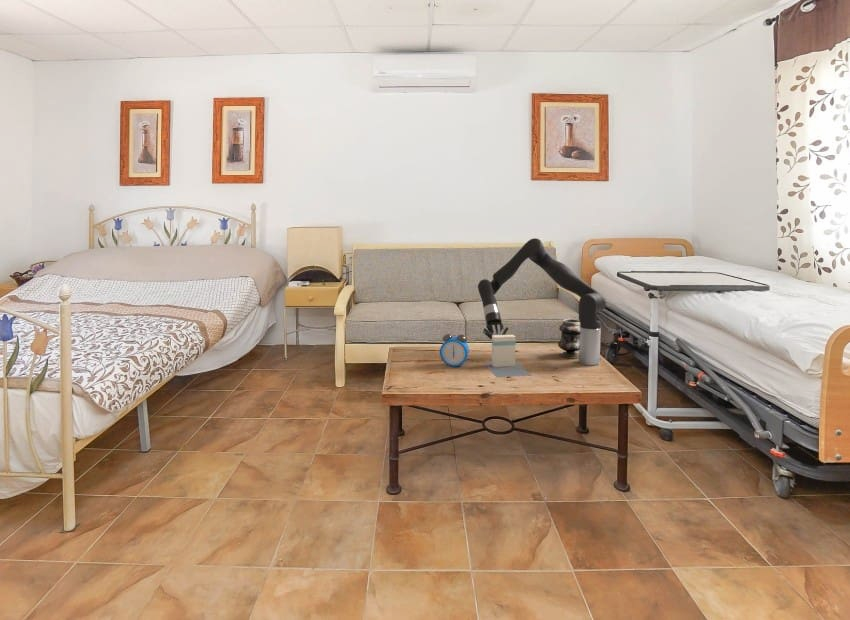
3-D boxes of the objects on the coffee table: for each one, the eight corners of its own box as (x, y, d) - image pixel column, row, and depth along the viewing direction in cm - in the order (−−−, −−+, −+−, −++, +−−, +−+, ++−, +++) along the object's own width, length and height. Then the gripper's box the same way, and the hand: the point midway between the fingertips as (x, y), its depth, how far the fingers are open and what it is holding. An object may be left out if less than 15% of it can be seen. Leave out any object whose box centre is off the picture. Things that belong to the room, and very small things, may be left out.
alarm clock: (439, 366, 246) (439, 335, 243) (442, 362, 252) (441, 332, 249) (467, 368, 243) (467, 336, 240) (469, 364, 249) (469, 333, 246)
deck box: (491, 364, 247) (491, 335, 244) (512, 363, 248) (513, 334, 246) (493, 367, 243) (494, 337, 240) (515, 365, 244) (515, 336, 242)
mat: (483, 364, 249) (483, 363, 249) (516, 362, 251) (516, 361, 251) (496, 378, 228) (496, 377, 228) (532, 376, 230) (532, 375, 230)
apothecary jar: (585, 359, 256) (587, 322, 253) (560, 359, 257) (562, 322, 253) (579, 352, 268) (580, 317, 265) (555, 352, 269) (556, 317, 265)
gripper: (503, 319, 265) (510, 349, 255) (477, 320, 263) (484, 350, 253) (507, 310, 258) (514, 341, 249) (480, 311, 256) (487, 342, 247)
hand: (499, 345), depth 251 cm, fingers closed
